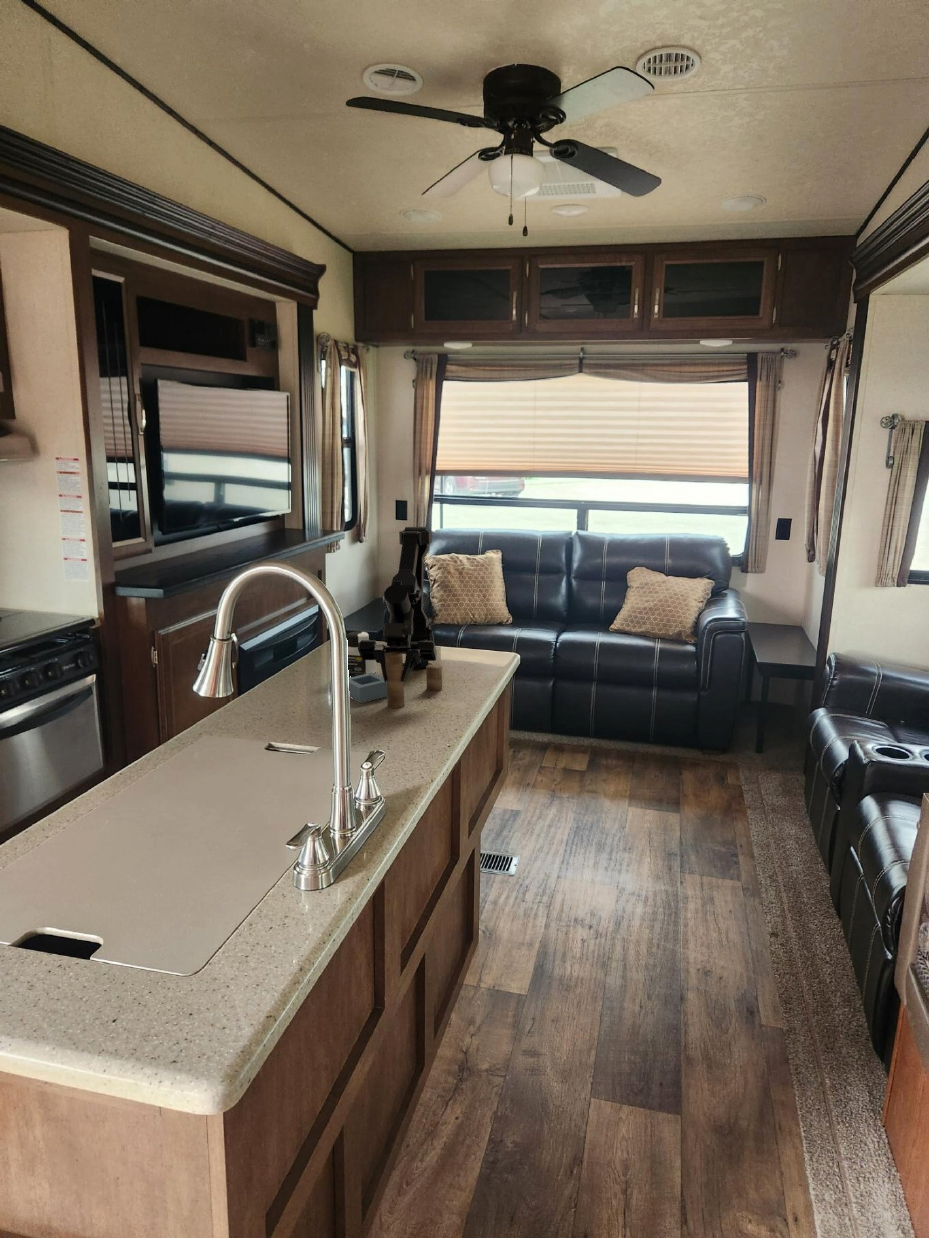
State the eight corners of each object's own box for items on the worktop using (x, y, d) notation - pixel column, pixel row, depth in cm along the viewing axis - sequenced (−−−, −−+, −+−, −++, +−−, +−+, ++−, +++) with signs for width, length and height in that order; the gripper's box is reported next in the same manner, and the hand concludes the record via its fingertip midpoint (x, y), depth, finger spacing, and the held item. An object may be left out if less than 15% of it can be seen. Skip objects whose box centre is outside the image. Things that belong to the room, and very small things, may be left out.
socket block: (343, 694, 212) (342, 679, 211) (373, 687, 217) (372, 672, 216) (360, 703, 205) (359, 687, 204) (390, 695, 210) (390, 680, 209)
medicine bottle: (342, 678, 225) (339, 635, 222) (352, 670, 232) (350, 629, 229) (366, 680, 223) (364, 636, 220) (376, 672, 230) (374, 630, 227)
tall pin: (384, 704, 203) (382, 653, 200) (398, 701, 205) (396, 650, 202) (393, 709, 200) (391, 657, 197) (407, 705, 202) (405, 654, 199)
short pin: (423, 688, 215) (423, 666, 213) (436, 685, 217) (435, 663, 216) (432, 692, 212) (431, 669, 210) (445, 689, 214) (444, 667, 213)
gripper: (357, 608, 202) (348, 665, 194) (433, 608, 200) (427, 666, 192) (366, 631, 211) (358, 686, 203) (439, 632, 209) (433, 687, 201)
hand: (393, 681), depth 200 cm, fingers closed on tall pin, 4 cm apart
